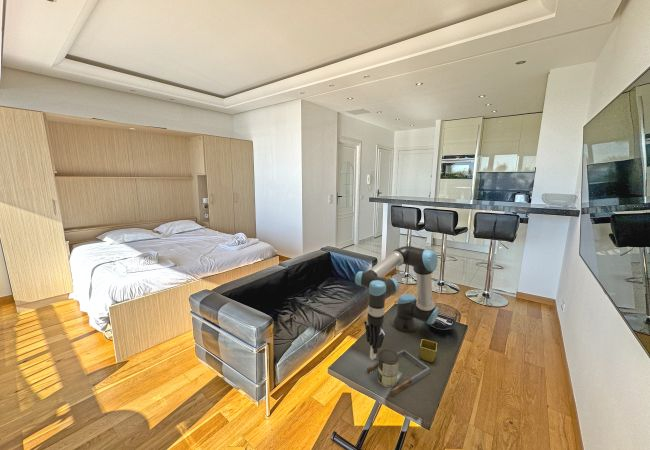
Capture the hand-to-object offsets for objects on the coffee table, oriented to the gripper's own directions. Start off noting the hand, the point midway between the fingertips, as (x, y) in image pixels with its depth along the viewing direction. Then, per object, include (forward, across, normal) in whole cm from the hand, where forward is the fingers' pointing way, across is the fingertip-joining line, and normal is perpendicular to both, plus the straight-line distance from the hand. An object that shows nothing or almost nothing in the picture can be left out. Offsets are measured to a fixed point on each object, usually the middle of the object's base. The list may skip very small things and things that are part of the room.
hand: (372, 357), depth 126 cm
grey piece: (+17, 0, +26) cm, 32 cm away
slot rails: (+18, 0, +12) cm, 21 cm away
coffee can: (+18, 0, +11) cm, 21 cm away
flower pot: (+18, +1, +43) cm, 47 cm away
